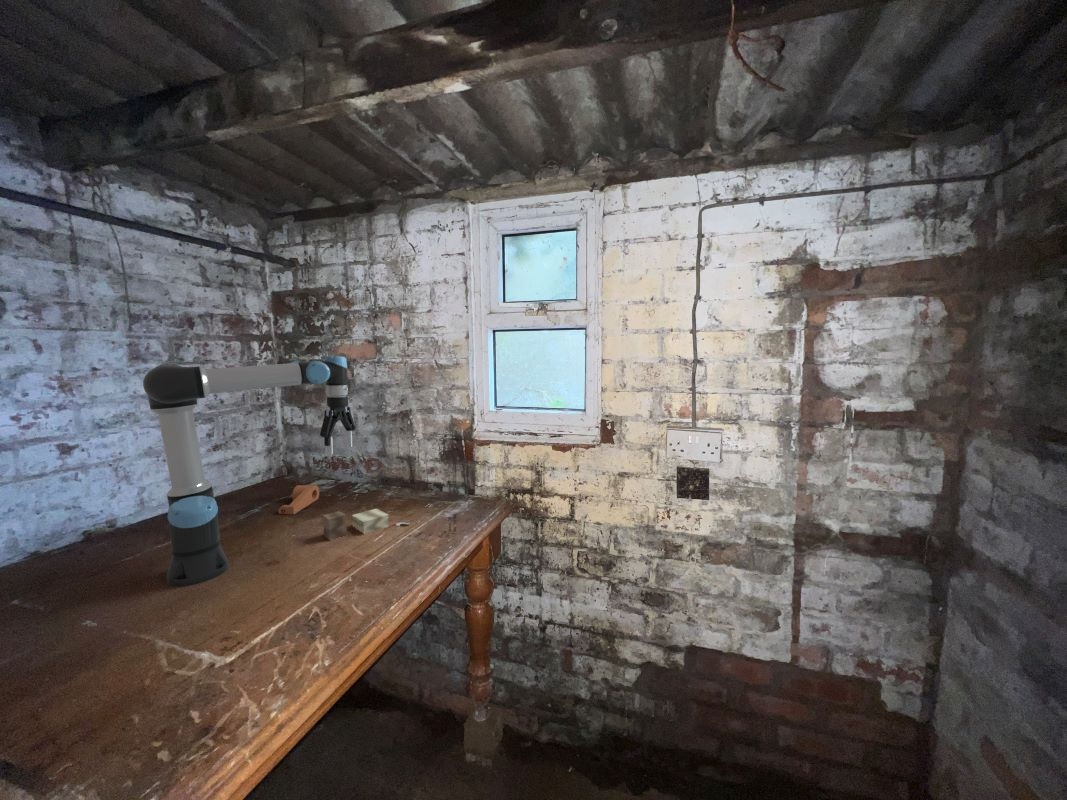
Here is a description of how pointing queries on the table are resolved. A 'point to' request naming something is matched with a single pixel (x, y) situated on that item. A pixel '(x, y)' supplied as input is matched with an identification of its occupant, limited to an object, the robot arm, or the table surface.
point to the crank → (301, 498)
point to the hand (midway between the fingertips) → (339, 450)
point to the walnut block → (334, 525)
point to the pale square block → (370, 521)
